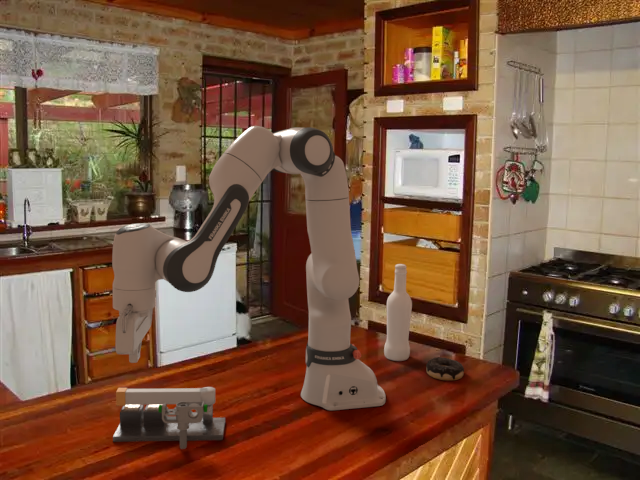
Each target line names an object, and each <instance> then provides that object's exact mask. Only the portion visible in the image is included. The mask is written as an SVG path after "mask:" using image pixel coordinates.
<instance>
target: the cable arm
mask: <svg viewBox="0 0 640 480" xmlns="http://www.w3.org/2000/svg"><path fill="white" fill-rule="evenodd" d="M115 396H116V397H115V401H116V402H115V405H116V407H123V406H126V405H158V404H167V405H176V404H177V403H178V402H182V401H186V402H197V401H204V405H205V404H207V405H212V404H213V405H214V404H215V403H216V388H215V387H213V386H204V387H197V388H196V387H195V388H194V387H190V388H187V387H185V388H183V387H182V388H177V387H176V388H171V387H170V388H128V387H118V388H117V390H116V392H115Z"/></svg>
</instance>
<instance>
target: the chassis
mask: <svg viewBox="0 0 640 480" xmlns="http://www.w3.org/2000/svg"><path fill="white" fill-rule="evenodd" d="M213 406H214V404H212V405H207V412H204V411H203V417H202V420H201V421H200V422H199V423H189V428H188V429H187V442H188V441H190V442H191V441H193V442H194V441H223V439H224V434H225V428H226V427H225V426H226V417H213V416H214V414H213V413H214V408H213ZM117 426H118V427H117V428H116V430H115V432H114V434H113V436H112V442H114V443H115V442H116V443H117V442H118V443H119V442H120V443H121V442H124V443H125V442H126V443H127V442H177V441H178V442H180V430H179V429H177V426H178V423H165V425H164V426H144V420H143V422H142V424H141V426H120V423H119V424H118V425H117Z"/></svg>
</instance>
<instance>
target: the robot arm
mask: <svg viewBox="0 0 640 480" xmlns="http://www.w3.org/2000/svg"><path fill="white" fill-rule="evenodd" d="M271 171H274V172H276V173H279V174H280V173H281V174H282V173H283V174H290V175H299V174H300V176H301V177H302V180H303V182H304V190H305V191H304V194H305V198H304V199H305V212H306V213H305V214H306V227H307V229H306V230H307V235H308V239H309V240H308V241H309V245H310V252H311V253H310V254H309V255H308V256H307V260H306V262H305V263H306V264H305V272H306V273H305V274H306V295H307V308H308V330H307V331H308V333H307V334H308V340H307V343H306V348H305V365H306V368H305V377H304V381H303V386H302V389H301V391H300V397H301V398H302V400H304V401H305V402H306V403H308V404H311V405H314V406H318V407H321V408H322V409H325V410H327V411H340V410H349V409H350V410H351V409H361V408H373V407H380V406H383V405H385V403H386V402H387V398H386V393H385V390H384V389H383V388H382V387H381V386H380V385H379V384H378V380H377V377H376V374H375V373H374V371H373V369H371V368H370V366H368V365H367V364H365V363H364V362H362V360H360V359H361V357H362V353H361V351H360V350H359V349H358V348H357V346H355V344H354V343H351V331H352V330H351V329H352V326H351V325H352V315H351V311H350V302H349V298H352V297H353V295H355V293H357V290H358V288H359V286H360V274H359V270H358V264H357V258H356V257H357V256H356V252H355V251H356V250H355V245H354V240H353V235H352V228H351V227H352V225H351V210H350V193H349V183H348V177H347V172H346V171H347V170H346V167H345V164H344V161H343V160H342V159H341V158H340V157H339V156H338V155H336V153H335V150H334V147H333V143H332V141H331V138H329V136H328V135H327V134H326V132H324V131H322V130H320V129H318V128H315V127H308V126H307V127H290V128H288V129H280V130H276V131H273V132H272V131H271V130H270V129H268V128H266V127H264V126H259V125H253V126H252V125H251V126H249V127H248V128H246V130H244V131H243V132H242V133H241V134H240V135H239V136H238V137H236V138H235V139H234V140H233V141H232V143H231V144H230V145H229V146H228V147H227V148H226V149H225V151H224V152H223V153H222V154H221V155H220V157H219V158H218V160H217V161H216V162H215V164H214V166H213V168H212V170H211V172H210V174H209V177H208V182H209V188H210V191H211V193H212V196H213V197H214V201H213V206H212V208H211V210H210V212H209V213H208V215H207V217H206V218H205V220H204V221H203V223H202V224H201V226H199V227H200V228H199V229H198V230H197V232H196V233H195V235H194V236H193V237H192V238H191V239H189V240H185V239H183V238H179V237H177V236H174V235H169V234H167V233H165V232H162V231H160V230H158V229H156V228H155V227H154V226H152V225H151V224H150V223H146V222H143V223H141V222H140V223H131V224H126V225H125V226H122V227H120V228H118V229H117V230H116V232H115V234H114V238H113V242H112V243H113V244H112V257H111V258H112V260H111V263H112V264H111V267H112V270H113V275H114V277H113V278H114V279H113V281H112V309H114V310H115V311H118V315H119V316H118V317H117V319H116V324H115V352H116V354H117V355H128V361H129V363H130V364H134V363H135V364H136V363H138V361H139V359H140V358H141V348H142V343H143V342H142V341H143V340H144V338H145V336H146V334H147V333H148V332H149V330H150V328H151V326H152V322H153V313H154V312H153V311H154V308H155V307H156V298H157V290H156V282H157V281H160V280H164V281H166V282H167V283H169V284H170V285H171V287H173V288H174V289H176V290H177V291H180V292H183V293H193V292H197V291H199V290H200V289H203V288H204V287H205V286H206V285H207V284H208V283H209V281H210V280H212V279H211V278H212V276H213V274H214V271H215V268H216V266H217V265H216V264H217V261H218V258H219V256H220V254H221V252H222V250H223V248H224V246H225V245H226V244H227V242H228V240H229V238H230V237H231V236H232V234H233V233H234V230H235V229H236V227H238V224H239V223H240V221H241V219H242V218H243V216H244V214H245V213H246V211H247V208H248V206H249V203H250V201H251V199H252V197H253V196H254V194H255V192H256V191H257V190H258V188H259V187H260V186H261V184H262V183H263V181H264V180H265V179H266V177H267V175H268V174H269V173H270V172H271Z"/></svg>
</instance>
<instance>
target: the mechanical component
mask: <svg viewBox="0 0 640 480" xmlns="http://www.w3.org/2000/svg"><path fill="white" fill-rule="evenodd" d="M193 410H195V411H194V412H193ZM158 411H159V412H162V420H163V422H165V423H178V426H177V429H179V430H180V441H179V449H180V450H185V449H186V448H187V446H188V441H187V429H188V428H189V423H199V422H200V421H201V420H202V417H203V411H204V412H207V404H205V405H204V401H197V402H186V401H182V402H178V403H177V404H175V407H174V408H169V407H168V404H163V405H159V409H158Z"/></svg>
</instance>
